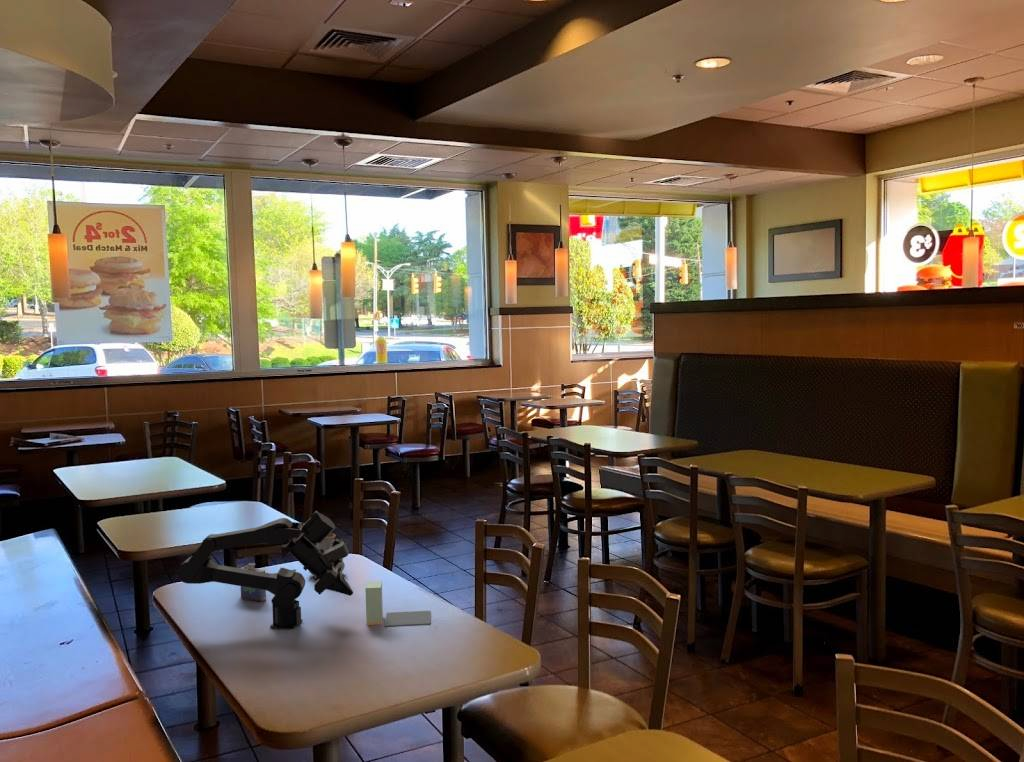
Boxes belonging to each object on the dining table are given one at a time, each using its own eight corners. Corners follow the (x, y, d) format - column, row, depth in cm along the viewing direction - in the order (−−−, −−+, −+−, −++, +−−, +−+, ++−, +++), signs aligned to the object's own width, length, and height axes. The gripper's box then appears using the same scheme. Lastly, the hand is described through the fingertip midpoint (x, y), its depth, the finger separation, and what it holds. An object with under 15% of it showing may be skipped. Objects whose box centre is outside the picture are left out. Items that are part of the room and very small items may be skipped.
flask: (268, 599, 250) (266, 563, 249) (260, 603, 247) (259, 566, 246) (245, 595, 254) (243, 559, 254) (237, 598, 252) (236, 562, 251)
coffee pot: (302, 574, 275) (301, 528, 274) (336, 568, 281) (335, 523, 280) (327, 591, 257) (326, 542, 256) (363, 584, 263) (362, 536, 262)
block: (366, 625, 228) (365, 588, 227) (368, 617, 234) (367, 581, 233) (381, 624, 228) (380, 587, 228) (382, 616, 234) (381, 580, 234)
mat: (384, 626, 227) (384, 625, 226) (386, 613, 236) (386, 612, 236) (430, 624, 228) (430, 623, 228) (430, 611, 238) (430, 610, 238)
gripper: (325, 542, 219) (370, 582, 221) (333, 525, 238) (375, 562, 239) (295, 574, 219) (340, 614, 221) (305, 554, 237) (347, 591, 239)
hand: (352, 594), depth 230 cm, fingers closed
